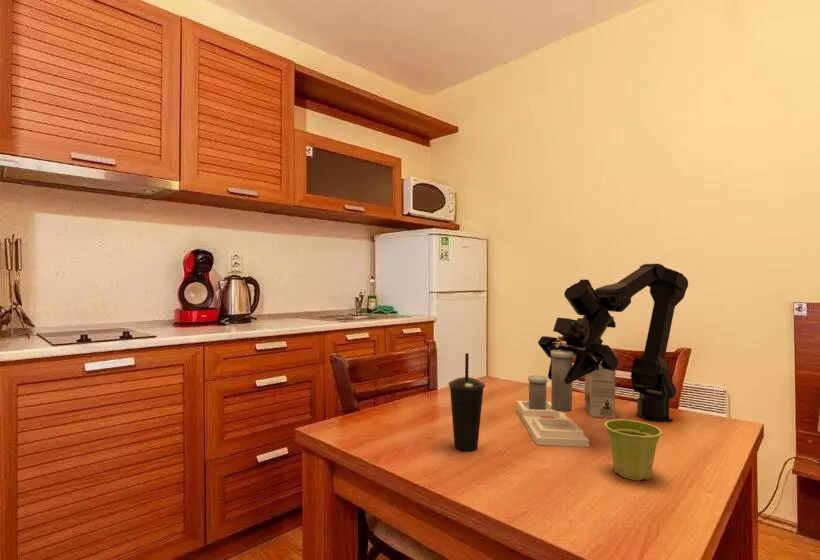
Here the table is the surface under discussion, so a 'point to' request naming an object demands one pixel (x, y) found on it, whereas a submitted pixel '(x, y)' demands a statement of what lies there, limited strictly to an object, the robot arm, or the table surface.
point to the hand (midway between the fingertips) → (557, 380)
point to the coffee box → (600, 393)
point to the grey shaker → (561, 381)
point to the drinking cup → (466, 410)
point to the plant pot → (633, 447)
